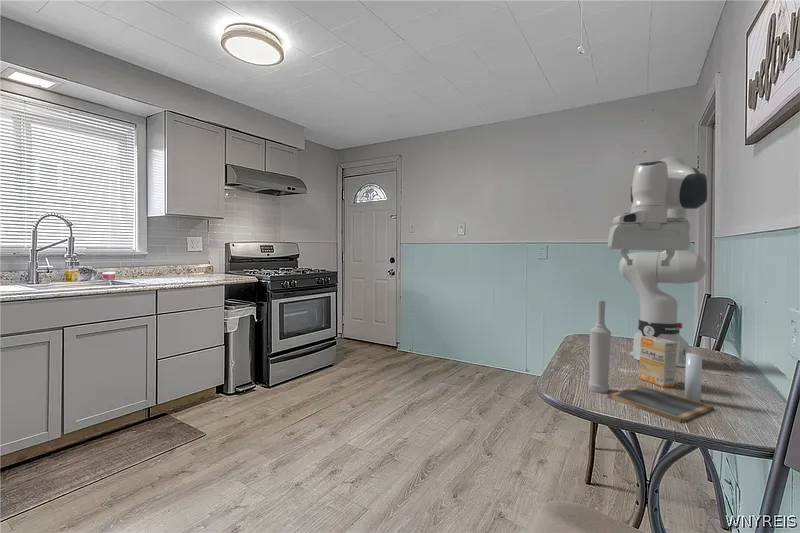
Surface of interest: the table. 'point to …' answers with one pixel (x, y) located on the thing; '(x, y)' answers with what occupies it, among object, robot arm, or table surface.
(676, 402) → the slate board
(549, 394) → the table surface
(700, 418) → the table surface
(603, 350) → the bottle
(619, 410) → the table surface
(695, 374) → the chalk
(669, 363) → the supplement box
